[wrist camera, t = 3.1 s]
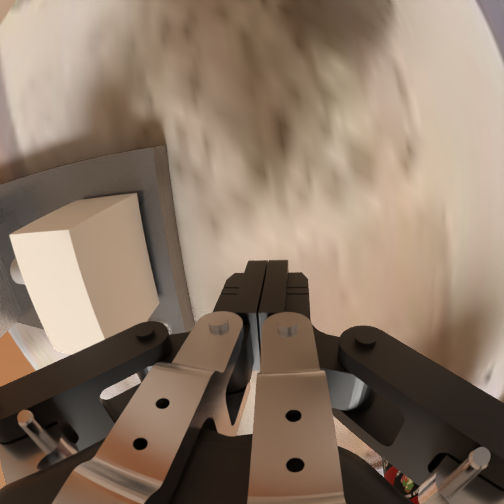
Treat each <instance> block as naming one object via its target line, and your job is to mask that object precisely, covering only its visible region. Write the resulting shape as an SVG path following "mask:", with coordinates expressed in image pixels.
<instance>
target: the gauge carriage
mask: <svg viewBox="0 0 504 504" xmlns="http://www.w3.org/2000/svg"><path fill="white" fill-rule="evenodd" d="M9 236H10V240H11V243H12V247H13V250H14V253H15V256H16V258H15V259H14V260H13V261H12V263H11V267H10V273H11V277H12V279H13V280H14V281H15V282H16V283H18V284H24V285H26V288H27V290H28V293H29V295H30V298H31V300H32V303H33V305H34V308H35V310H36V312H37V315H38V317H39V319H40V321H41V323H42V326H43V328H44V330H45V332H46V334H47V336H48V338H49V340H50V342H51V344H52V346H53V348H54V350H56V351H59V352H62V353H66V354H70V355H72V354H74V353H77V352H79V351H81V350H83V349H85V348H87V347H90V346H92V345H94V344H96V343H98V342H100V341H103V340H105V339H107V338H109V337H111V336H113V335H115V334H117V333H120V332H122V331H124V330H126V329H128V328H130V327H132V326H134V325H137V324H139V323H142V322H147V320H148V319H149V318H150V316H151V315H152V313H153V312H154V310H155V309H156V307H157V306H158V305H159V303H160V302H159V299H158V295H157V291H156V286H155V282H154V278H153V274H152V269H151V265H150V260H149V256H148V251H147V246H146V241H145V236H144V231H143V226H142V220H141V215H140V209H139V203H138V197H137V193H132V194H123V195H114V196H106V197H98V198H91V199H84V200H77V201H74V202H72V203H70V204H68V205H66V206H64V207H61V208H59V209H57V210H55V211H53V212H51V213H49V214H47V215H45V216H43V217H41V218H39V219H37V220H35V221H33V222H32V223H30V224H28V225H26V226H24V227H22V228H20V229H18V230H17V231H15V232H13V233H11V234H9Z"/></svg>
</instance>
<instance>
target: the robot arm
mask: <svg viewBox="0 0 504 504" xmlns="http://www.w3.org/2000/svg"><path fill="white" fill-rule="evenodd" d="M252 370H257V371H260V373H258V374H257V380H256V395H255V409H254V423H253V434H249V435H241V436H236V435H237V431H238V427H239V424H240V421H241V418H242V414H243V411H244V408H245V405H246V401H247V398H248V395H249V391H250V379H251V374H252ZM135 373H137V374H138V376H139V379H140V381H141V383H140V384H138V385H136V386H134V387H132V388H131V389H129V390H127V391H125V392H123V393H121V394H119V395H117V396H115V397H113V398H111V399H108V400H104V399H101V398H100V394H101V392H102V391H103V390H104V389H106V388H108V387H110V386H112V385H114V384H116V383H118V382H120V381H122V380H124V379H126V378H128V377H130V376H131V375H133V374H135ZM333 416H334V417H335V418H337V419H338V420H339V421H340V422H341V423H342V424H343V425H345V426H346V427H347V428H348V429H349V430H350V431H351V432H353V433H354V434H355V435H356V436H357V437H359V438H360V439H361V440H362V441H363V442H364V443H366V444H367V445H368V446H369V447H370V448H372V449H373V450H374V451H375V452H376V453H378V454H379V455H380V456H381V457H383V458H384V459H385V460H386V461H388V462H389V463H390V464H391V465H393V466H394V467H395V468H396V469H398V470H399V471H400V472H401V473H403V474H404V475H405V476H407V477H408V478H409V479H411V480H412V481H413V482H414V483H416V484H417V485H418V486H420V488H419V492H418V500H419V504H504V403H503V402H501V401H499V400H498V399H496V398H494V397H492V396H491V395H489V394H487V393H486V392H484V391H482V390H481V389H479V388H477V387H476V386H474V385H472V384H471V383H469V382H467V381H466V380H464V379H462V378H461V377H459V376H457V375H455V374H454V373H452V372H450V371H449V370H447V369H445V368H444V367H442V366H440V365H439V364H437V363H435V362H434V361H432V360H430V359H429V358H427V357H425V356H424V355H422V354H420V353H419V352H417V351H415V350H413V349H412V348H410V347H408V346H407V345H405V344H403V343H402V342H400V341H398V340H397V339H395V338H393V337H392V336H390V335H388V334H387V333H385V332H383V331H382V330H380V329H378V328H375V327H371V326H355V327H351V328H349V329H347V330H346V331H344V332H343V333H342V334H341V336H340V337H337V336H332V335H328V334H325V333H322V332H320V331H319V330H317V329H316V328H315V327H314V326H313V325H312V323H311V320H310V304H309V288H308V279H307V278H306V276H305V275H304V274H303V273H302V272H300V273H288V260H269V262H268V260H262V261H248V263H247V266H246V269H245V272H244V273H235V274H233V275H232V276H231V277H229V278H228V279H227V280H226V283H225V285H224V288H223V290H222V292H221V295H220V296H219V299H218V301H217V303H216V306H215V308H214V310H213V312H212V313H209V314H206V315H204V316H203V317H201V318H200V319H199V320H198V321H197V322H196V324H195V325H194V327H193V329H192V330H191V331H190V332H185V333H178V334H170V335H169V331H168V328H167V327H166V325H164V324H163V323H160V322H156V321H147V322H142V323H139V324H137V325H134V326H132V327H130V328H128V329H126V330H124V331H122V332H120V333H117V334H115V335H113V336H111V337H109V338H107V339H105V340H103V341H100V342H98V343H96V344H94V345H92V346H90V347H87V348H85V349H83V350H81V351H79V352H77V353H74V354H72V355H70V356H68V357H66V358H64V359H61V360H59V361H57V362H55V363H53V364H50V365H48V366H46V367H44V368H42V369H39V370H37V371H35V372H33V373H30V374H28V375H26V376H24V377H22V378H19V379H17V380H15V381H13V382H10V383H8V384H6V385H4V386H1V387H0V461H1V465H2V470H3V474H4V478H5V482H6V486H4V487H3V488H2V489H0V504H414V503H413V502H412V501H410V500H409V499H408V498H407V497H406V496H405V495H403V494H402V493H401V492H400V491H399V490H398V489H396V488H395V487H394V486H393V485H392V484H391V483H389V482H388V481H387V480H386V479H385V478H384V477H383V476H382V475H380V474H379V473H378V472H377V471H376V470H375V469H374V468H373V467H372V466H371V465H369V464H368V463H367V462H366V461H365V460H364V459H362V458H361V457H359V456H358V455H356V454H354V453H352V452H351V451H349V450H347V449H344V448H342V447H339V446H337V439H336V432H335V426H334V419H333Z"/></svg>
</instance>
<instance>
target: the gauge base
mask: <svg viewBox="0 0 504 504" xmlns="http://www.w3.org/2000/svg"><path fill="white" fill-rule="evenodd" d="M132 193H137V197H138V203H139V209H140V215H141V220H142V226H143V231H144V236H145V241H146V246H147V251H148V256H149V260H150V265H151V269H152V274H153V278H154V282H155V286H156V291H157V295H158V299H159V302H160V303H159V305H158V306H157V307H156V309H155V310H154V312H153V313H152V315H151V316H150V318H149V319H148V320H147V321H156V322H160V323H163V324H164V325H166V327H167V328H168V331H169V335H170V334H178V333H185V332H190V331H191V330H192V329H193V327H194V325H195V323H194V319H193V314H192V309H191V304H190V299H189V294H188V289H187V284H186V279H185V273H184V268H183V262H182V256H181V251H180V245H179V239H178V232H177V226H176V219H175V213H174V206H173V198H172V191H171V183H170V175H169V167H168V158H167V149H166V145H161V146H154V147H148V148H142V149H136V150H131V151H125V152H120V153H115V154H110V155H105V156H101V157H96V158H92V159H87V160H83V161H79V162H75V163H71V164H67V165H63V166H59V167H55V168H52V169H48V170H45V171H41V172H38V173H34V174H31V175H28V176H25V177H22V178H18V179H15V180H12V181H9V182H6V183H4V184H1V185H0V337H1V336H2V335H3V334H4V333H5V332H6V331H8V330H9V329H10V328H11V327H12V326H13V325H14V324H15V323H16V322H19V323H22V324H26V325H29V326H33V327H37V328H40V329H44V328H43V326H42V323H41V321H40V319H39V317H38V315H37V312H36V310H35V308H34V305H33V303H32V300H31V298H30V295H29V293H28V290H27V288H26V285H24V284H18V283H16V282H15V281H14V280H13V279H12V277H11V273H10V267H11V263H12V261H13V260H14V259H15V258H16V256H15V253H14V250H13V247H12V243H11V240H10V236H9V234H11V233H13V232H15V231H17V230H18V229H20V228H22V227H24V226H26V225H28V224H30V223H32V222H33V221H35V220H37V219H39V218H41V217H43V216H45V215H47V214H49V213H51V212H53V211H55V210H57V209H59V208H61V207H64V206H66V205H68V204H70V203H72V202H74V201H77V200H84V199H91V198H98V197H106V196H114V195H123V194H132Z"/></svg>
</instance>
